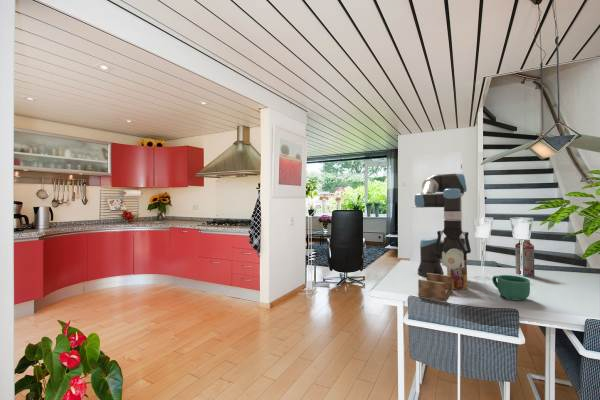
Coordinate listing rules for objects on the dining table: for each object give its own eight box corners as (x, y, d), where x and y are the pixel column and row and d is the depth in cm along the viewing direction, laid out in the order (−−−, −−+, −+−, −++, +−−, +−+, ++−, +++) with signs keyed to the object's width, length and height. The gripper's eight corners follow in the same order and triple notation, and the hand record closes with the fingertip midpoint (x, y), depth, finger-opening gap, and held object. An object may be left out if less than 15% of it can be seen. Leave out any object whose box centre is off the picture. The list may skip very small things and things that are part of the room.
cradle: (418, 296, 144) (418, 279, 144) (427, 287, 159) (427, 272, 159) (444, 300, 137) (444, 283, 137) (452, 291, 151) (452, 275, 151)
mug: (537, 301, 135) (536, 280, 135) (514, 303, 133) (514, 282, 133) (505, 290, 152) (505, 272, 152) (484, 292, 149) (484, 274, 149)
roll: (446, 263, 152) (446, 248, 152) (464, 264, 147) (463, 249, 147) (442, 268, 141) (441, 251, 142) (461, 270, 137) (460, 253, 137)
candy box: (463, 287, 159) (462, 258, 159) (467, 289, 155) (467, 260, 155) (446, 287, 159) (446, 259, 159) (451, 289, 155) (450, 260, 155)
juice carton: (534, 276, 180) (533, 240, 181) (523, 276, 180) (523, 240, 181) (526, 273, 187) (525, 239, 187) (515, 273, 187) (515, 239, 187)
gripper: (428, 219, 147) (428, 265, 147) (476, 220, 135) (477, 270, 135) (431, 218, 153) (431, 262, 153) (477, 219, 141) (478, 267, 141)
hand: (453, 265), depth 144 cm, fingers closed on roll, 8 cm apart
